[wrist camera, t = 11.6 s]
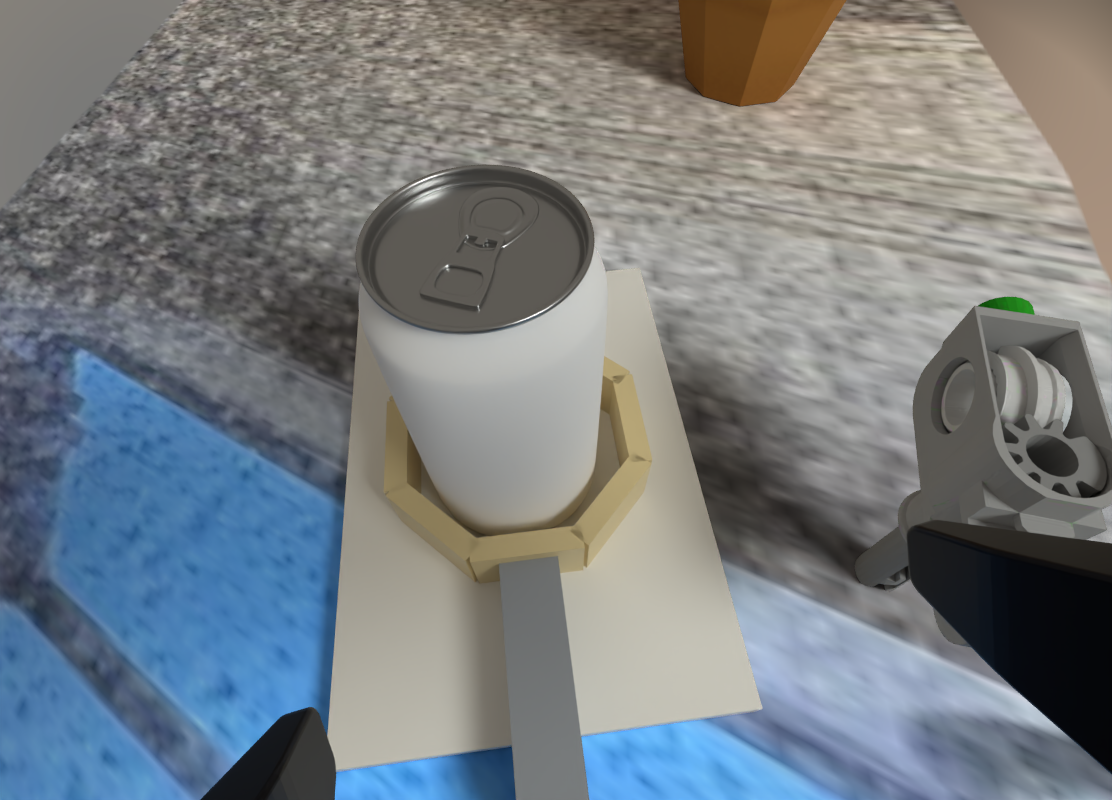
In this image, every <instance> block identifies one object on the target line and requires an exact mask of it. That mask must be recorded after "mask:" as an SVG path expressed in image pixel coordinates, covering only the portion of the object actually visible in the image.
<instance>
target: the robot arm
mask: <svg viewBox="0 0 1112 800" xmlns="http://www.w3.org/2000/svg"><path fill="white" fill-rule="evenodd" d="M906 539H907V553H908V567H909V576H910V579H911V581H912V583H913V585H914V587H915V588H916V590H917V591H918V592H919V593H920V594H921V595H922V596H923V597H924V598H925V600H926V601H927V602H928V603H929V604H930V605H931V606H932V607H933V608H934V609H935V610H936V611H937V612H938V613H939V614H940V615H941V616H942V617H943V618H944V619H945V620H946V621H947V622H948V623H949V624H950V626H951V627H952V628H953V629H954V630H955V631H956V632H957V633H958V634H959V635H960V636H961V637H962V638H963V639H964V640H965V641H966V642H967V643H968V644H969V645H970V646H971V647H972V648H973V649H974V650H975V652H976V653H977V654H978V655H979V656H980V657H981V658H982V659H983V660H984V661H985V662H986V663H987V664H988V665H989V666H990V667H991V668H992V669H993V670H994V671H995V672H997V673H998V674H999V675H1000V676H1001V677H1002V678H1003V679H1004V680H1005V681H1006V682H1007V683H1009V684H1010V685H1011V686H1012V687H1013V688H1014V689H1015V690H1016V691H1018V692H1019V693H1020V694H1021V695H1022V696H1023V697H1024V698H1025V699H1027V700H1028V701H1029V702H1030V703H1031V704H1032V705H1033V706H1035V707H1036V708H1037V709H1038V710H1039V711H1040V712H1041V713H1043V714H1044V715H1045V716H1046V717H1047V718H1048V719H1049V720H1050V721H1052V722H1053V723H1054V724H1055V725H1056V726H1057V727H1058V728H1060V729H1061V730H1062V731H1063V732H1064V733H1065V734H1066V735H1068V736H1069V737H1070V738H1071V739H1072V740H1073V741H1074V742H1075V743H1077V744H1078V745H1079V746H1080V747H1081V748H1082V749H1083V750H1085V751H1086V752H1087V753H1088V754H1089V755H1090V756H1091V757H1093V758H1094V759H1095V760H1096V761H1097V762H1098V763H1099V764H1100V765H1102V766H1103V767H1104V768H1105V769H1106V770H1107V771H1108V772H1110V773H1111V774H1112V544H1111V543H1104V542H1097V541H1090V540H1082V539H1075V538H1068V537H1060V536H1053V535H1046V534H1038V533H1031V532H1024V531H1016V530H1009V529H1002V528H994V527H987V526H980V525H973V524H965V523H958V522H951V521H943V520H930V521H926V522H923V523H920V524H916V525H913V526H911V527H910V528H909V529H908V531H907V534H906ZM335 784H336V764H335V758H334V754H333V751H332V749H331V746H330V743H329V740H328V737H327V735H326V732H325V729H324V726H323V723H322V721H321V718H320V715H319V713H318V712H317V710H316V709H314V708H312V707H308V708H305V709H301V710H298V711H295V712H291V713H288V714H285V715H283V716H281V717H280V718H279V719H278V720H277V721H276V722H275V723H274V724H273V725H272V726H271V727H270V728H269V729H268V730H267V731H266V732H265V734H264V735H263V736H262V737H261V738H260V739H259V740H258V741H257V742H256V743H255V744H254V745H253V746H252V747H251V748H250V749H249V750H248V751H247V752H246V753H245V754H244V755H243V756H242V757H241V758H240V759H239V760H238V761H237V762H236V763H235V764H234V766H233V767H232V768H231V769H230V770H229V771H228V772H227V773H226V774H225V775H224V776H223V777H222V778H221V779H220V780H219V781H218V782H217V783H216V784H215V785H214V786H213V787H212V788H211V789H210V790H209V791H208V792H207V793H206V794H205V795H204V796H203V798H202V799H201V800H334V799H335Z"/></svg>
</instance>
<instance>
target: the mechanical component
mask: <svg viewBox="0 0 1112 800" xmlns="http://www.w3.org/2000/svg"><path fill="white" fill-rule="evenodd" d="M1060 374H1061V375H1062V376H1064V377H1065V378H1066V380H1067V381H1068V382H1069V385H1070V387H1071V391H1072V397H1073V403H1072V411H1071V416H1070V419H1069V422H1068V425H1067V427H1066V429H1065V430H1064V432H1063V422H1062V421H1061V420H1062V416H1063V412H1064V408H1065V397H1066V393H1065V385H1064V382H1063V378H1062V376H1061V375H1060ZM913 420H914V430H915V440H916V449H917V459H918V468H919V478H920V488H921V490H919V491H916V492H914V493H912V494H910V495H909V496H907V497H906V498H905V499H904V500H903V502H902V503H901V505H900V508H899V512H898V525H899V526H898V527H897V528H896V529H894V530H893V531H892V532H890V533H889V534H888V535H886V536H885V537H884V538H883V539H881V540H880V541H879V542H877V543H876V544H875V545H873V546H872V547H871V548H869V549H868V550H867V551H865V552H864V553H863V554H861V555H860V556H859V557H858V558H857V560H856V562H855V573H856V576H857V578H858V579H859V581H860V582H861V584H863V585H866V586H870V587H874V586H875V585H877V584H884V585H885V590H886V591H889V592H890V591H892V590H894V589H896V588H898V587H899V586H901V585H903V584H905V583H906V582H908V581H910V580H911V579H910V576H909V567H908V553H907V539H906V534H907V531H908V529H909V528H910V527H911V526H913V525H916V524H920V523H923V522H926V521H930V520H943V521H951V522H958V523H965V524H973V525H980V526H987V527H994V528H1002V529H1009V530H1016V531H1024V532H1031V533H1038V534H1046V535H1053V536H1060V537H1068V538H1075V539H1082V540H1086V539H1089V538H1091V537H1093V536H1095V535H1097V534H1099V533H1102V532H1104V531H1106V530H1107V528H1106V524H1105V521H1104V517H1103V513H1102V509H1104V508H1106V507H1108V506H1110V505H1112V426H1111V422H1110V419H1109V416H1108V413H1107V410H1106V406H1105V403H1104V400H1103V397H1102V394H1101V390H1100V387H1099V384H1098V381H1097V377H1096V374H1095V371H1094V368H1093V365H1092V361H1091V358H1090V355H1089V352H1088V348H1087V345H1086V342H1085V339H1084V336H1083V332H1082V329H1081V326H1080V323H1079V322H1078V321H1072V320H1065V319H1058V318H1052V317H1045V316H1039V315H1035V314H1034V310H1033V306H1032V305H1031V304H1030V302H1029V301H1026V300H1024V299H1022V298H1017V297H1001V298H995V299H992V300H989V301H986V302H984V303H982V304H980V305H978V306H974V307H973V308H972V309H971V311H970V312H969V313H968V314H967V315H966V316H965V318H964V319H963V320H962V321H961V322H960V323H959V324H958V326H957V327H956V328H955V329H954V330H953V331H952V333H951V334H950V335H949V336H948V337H947V338H946V340H945V341H944V342H943V345H942V348H941V350H940V351H939V352H938V353H937V354H936V355H935V357H934V358H933V359H932V360H931V361H930V362H929V364H928V365H927V366H926V367H925V369H924V371H923V372H922V374H921V376H920V378H919V381H918V383H917V386H916V390H915V394H914V400H913ZM933 610H934V615H935V619H936V622H937V625H938V627H939V629H940V631H941V633H942V634H943V636H944V637H945V638H946V639H947V640H948V641H950V642H952V643H953V644H958V645H962V646H966V647H971V646H970V645H969V644H968V643H967V642H966V641H965V640H964V639H963V638H962V637H961V636H960V635H959V634H958V633H957V632H956V631H955V630H954V629H953V628H952V627H951V626H950V624H949V623H948V622H947V621H946V620H945V619H944V618H943V617H942V616H941V615H940V614H939V613H938V612H937V611H936V610H935V609H934V608H933ZM971 648H972V647H971Z"/></svg>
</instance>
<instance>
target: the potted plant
mask: <svg viewBox="0 0 1112 800" xmlns="http://www.w3.org/2000/svg"><path fill="white" fill-rule="evenodd" d="M845 2H846V0H679V11H680V21H681V32H682V43H683V53H684V64H685V74H686V78H687V79H688V80H689V81H690V82H691V84H692V85H693V86H694V87H695V88H696V89H697V90H698V91H699V92H700V93H701V94H702V95H703V96H704V97H707V98H711V99H715V100H718V101H722V102H726V103H729V104H733V105H736V106H746V105H754V104H762V103H769V102H776V101H777V100H778V99H779V98H780V97H781V96H782V95H783V94H784V93H785V92H786V91H788V90H789V89H790V88H791V87H792V86H793V85H794V83H795V82H796V80H797V78H798V77H799V75H800V74H801V72H802V70H803V69H804V67H805V66H806V64H807V62H808V61H809V59H810V58H811V56H812V54H813V53H814V51H815V50H816V48H817V46H818V45H819V43H820V42H821V40H822V38H823V37H824V35H825V34H826V32H827V30H828V29H829V27H830V26H831V24H832V22H833V21H834V19H835V18H836V16H837V14H838V13H839V11H840V10H841V8H842V6H843V5H844V3H845Z"/></svg>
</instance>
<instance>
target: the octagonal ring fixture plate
mask: <svg viewBox="0 0 1112 800" xmlns="http://www.w3.org/2000/svg"><path fill="white" fill-rule="evenodd" d="M605 272H606V277H607V288H608V304H607V323H606V338H605V352H604V365H603V378H602V391H601V404H600V416H599V428H598V440H597V451H596V461H595V469H594V475H593V479H592V483H591V486H590V488H589V491H588V493H587V495H586V497H585V498H584V500H583V501H582V503H581V504H580V506H579V507H578V508H577V509H576V510H575V512H574V513H573V514H572V515H571V516H569V517H568V518H567V519H566V520H565V521H563V522H562V523H560V524H559V525H557V526H556V527H554V528H552V529H544V530H536V531H528V532H520V533H512V534H504V535H496V536H487V535H484V534H481V533H479V532H476V531H474V530H472V529H470V528H469V527H467V526H465V525H464V524H462V523H461V522H460V521H459V520H457V519H456V518H455V517H454V516H453V515H452V514H451V513H450V511H449V510H448V509H447V508H446V506H445V505H444V503H443V502H442V500H441V498H440V496H439V494H438V492H437V490H436V488H435V486H434V484H433V482H432V480H431V478H430V476H429V474H428V472H427V470H426V467H425V465H424V463H423V461H422V459H421V457H420V455H419V453H418V450H417V448H416V446H415V444H414V442H413V440H412V438H411V435H410V433H409V431H408V429H407V427H406V425H405V422H404V420H403V418H402V416H401V414H400V412H399V409H398V407H397V405H396V403H395V401H394V399H393V396H392V394H391V392H390V390H389V388H388V386H387V383H386V381H385V379H384V377H383V375H382V372H381V370H380V368H379V366H378V363H377V361H376V359H375V357H374V355H373V352H372V350H371V348H370V345H369V343H368V340H367V338H366V335H365V333H364V330H363V326H362V323H361V319H360V314H359V316H358V330H357V344H356V357H355V371H354V384H353V398H352V411H351V425H350V438H349V452H348V465H347V479H346V492H345V506H344V520H343V533H342V547H341V560H340V574H339V587H338V601H337V614H336V628H335V641H334V655H333V668H332V682H331V696H330V709H329V723H328V736H327V737H328V740H329V743H330V746H331V749H332V751H333V754H334V758H335V764H336V772H340V771H347V770H354V769H361V768H368V767H375V766H382V765H389V764H396V763H403V762H409V761H416V760H423V759H430V758H437V757H444V756H451V755H458V754H465V753H472V752H479V751H486V750H493V749H500V748H507V747H512V752H513V766H514V780H515V793H516V800H589V795H588V787H587V779H586V771H585V763H584V756H583V748H582V740H581V737H583V736H590V735H597V734H604V733H611V732H618V731H625V730H631V729H638V728H645V727H652V726H659V725H666V724H673V723H680V722H687V721H694V720H701V719H708V718H715V717H722V716H729V715H736V714H742V713H749V712H755V711H758V710H761V709H762V705H761V702H760V698H759V694H758V691H757V687H756V684H755V680H754V677H753V673H752V669H751V666H750V662H749V659H748V655H747V651H746V648H745V644H744V641H743V637H742V633H741V630H740V626H739V623H738V619H737V616H736V612H735V608H734V605H733V601H732V598H731V594H730V590H729V587H728V583H727V580H726V576H725V573H724V569H723V565H722V562H721V558H720V555H719V551H718V547H717V544H716V540H715V537H714V533H713V529H712V526H711V522H710V519H709V515H708V512H707V508H706V504H705V501H704V497H703V494H702V490H701V486H700V483H699V479H698V476H697V472H696V468H695V465H694V461H693V458H692V454H691V451H690V447H689V443H688V440H687V436H686V433H685V429H684V425H683V422H682V418H681V415H680V411H679V408H678V404H677V400H676V397H675V393H674V390H673V386H672V382H671V379H670V375H669V372H668V368H667V364H666V361H665V357H664V354H663V350H662V347H661V343H660V339H659V336H658V332H657V329H656V325H655V321H654V318H653V314H652V311H651V307H650V304H649V300H648V296H647V293H646V289H645V286H644V282H643V278H642V275H641V271H640V268H633V269H624V270H614V271H605Z"/></svg>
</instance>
